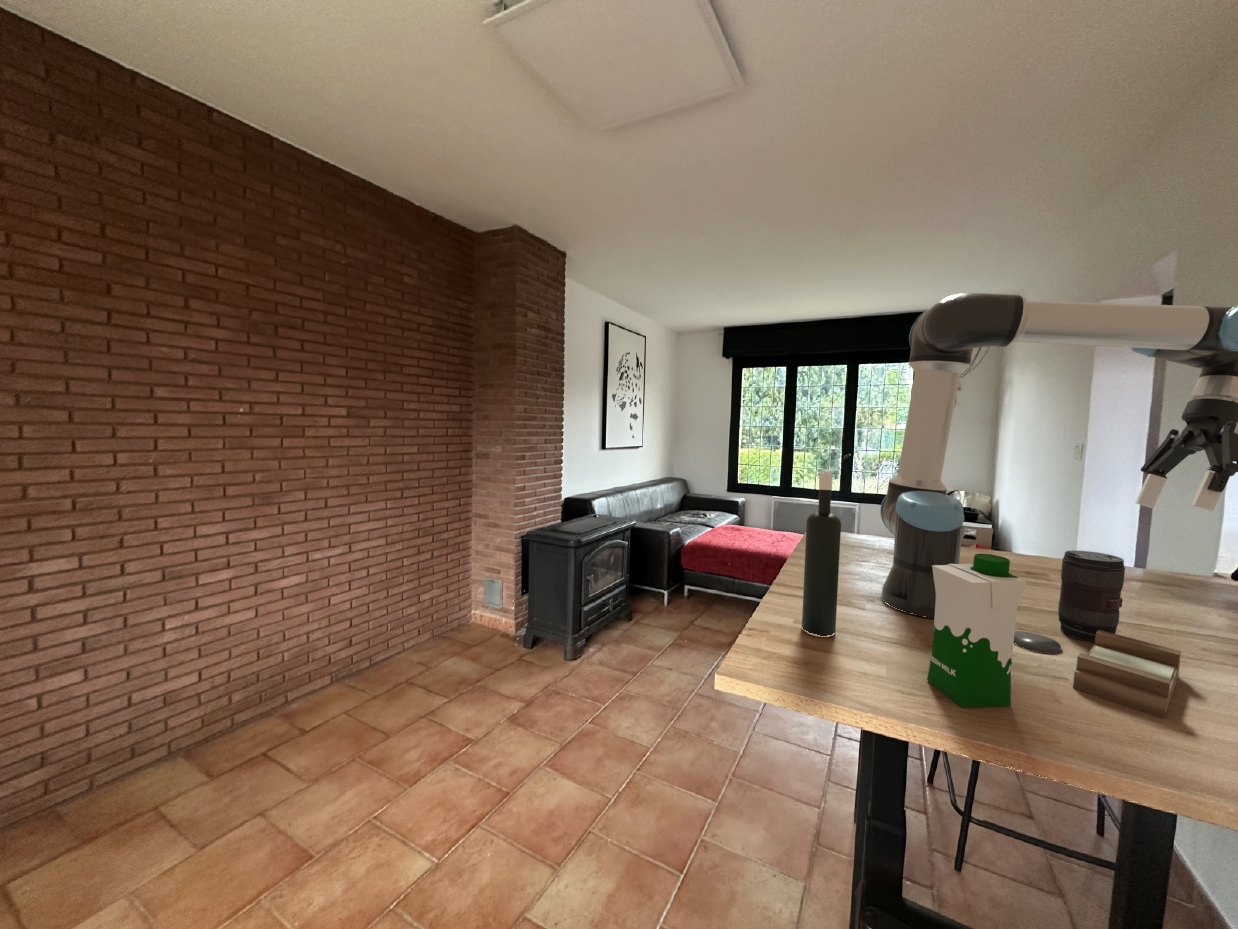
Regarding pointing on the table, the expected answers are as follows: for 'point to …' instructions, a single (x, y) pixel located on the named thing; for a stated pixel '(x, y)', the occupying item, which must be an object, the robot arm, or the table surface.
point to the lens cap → (1036, 642)
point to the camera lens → (1090, 593)
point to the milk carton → (975, 630)
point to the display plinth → (1129, 672)
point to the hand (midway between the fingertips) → (1171, 506)
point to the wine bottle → (821, 564)
